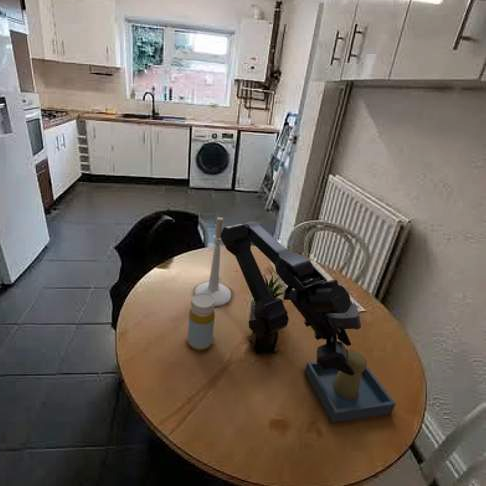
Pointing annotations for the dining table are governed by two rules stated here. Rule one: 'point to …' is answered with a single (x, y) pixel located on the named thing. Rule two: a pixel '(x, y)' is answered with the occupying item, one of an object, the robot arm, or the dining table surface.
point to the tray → (341, 409)
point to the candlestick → (216, 273)
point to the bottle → (201, 321)
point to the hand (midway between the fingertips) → (350, 359)
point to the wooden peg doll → (350, 384)
